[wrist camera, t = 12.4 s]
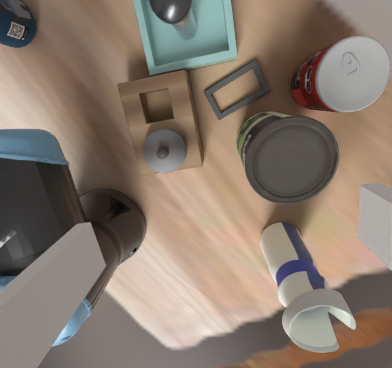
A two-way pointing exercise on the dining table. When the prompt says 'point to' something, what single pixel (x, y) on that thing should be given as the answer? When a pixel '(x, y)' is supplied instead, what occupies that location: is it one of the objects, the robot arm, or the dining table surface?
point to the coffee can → (287, 156)
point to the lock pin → (176, 16)
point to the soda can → (16, 23)
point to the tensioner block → (162, 122)
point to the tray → (193, 48)
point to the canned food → (342, 75)
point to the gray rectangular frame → (231, 78)
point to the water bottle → (302, 290)
